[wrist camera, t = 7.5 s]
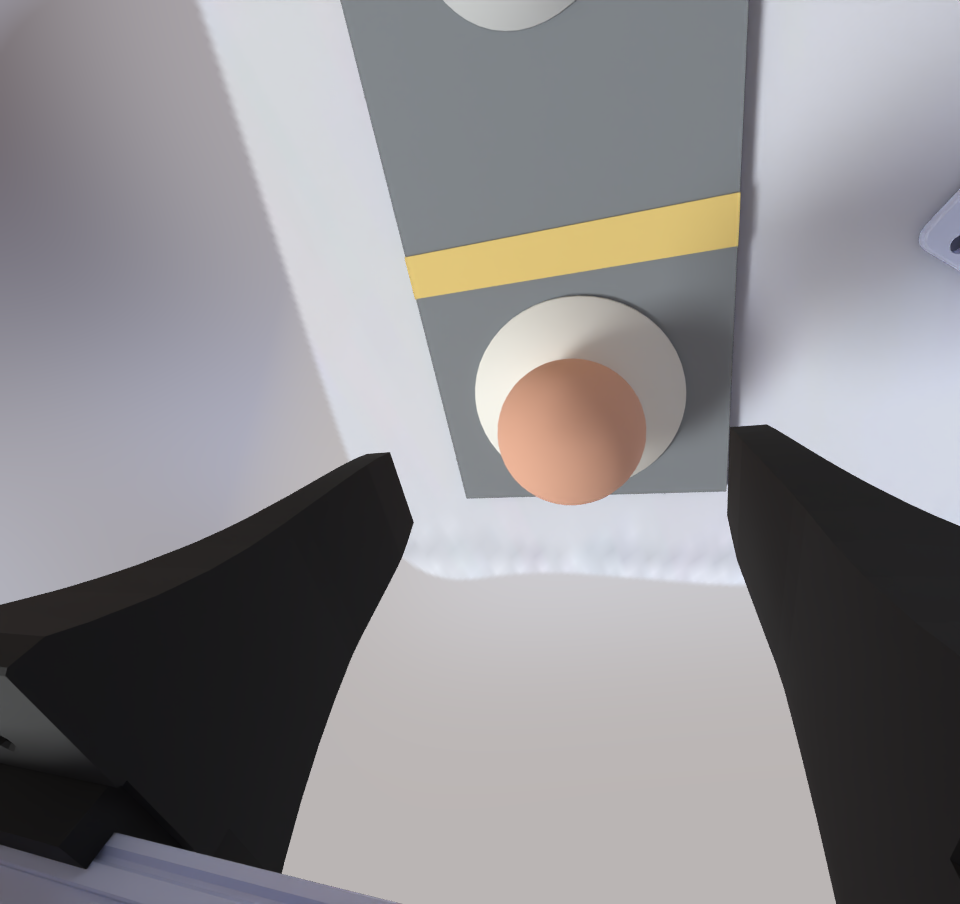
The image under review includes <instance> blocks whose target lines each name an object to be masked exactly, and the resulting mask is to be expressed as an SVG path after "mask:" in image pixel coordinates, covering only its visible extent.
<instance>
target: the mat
mask: <svg viewBox="0 0 960 904" xmlns="http://www.w3.org/2000/svg"><path fill="white" fill-rule="evenodd" d="M340 1H341V5H342V9H343V13H344V16H345V20H346V24H347V28H348V32H349V36H350V40H351V44H352V48H353V52H354V56H355V60H356V64H357V68H358V72H359V76H360V80H361V84H362V87H363V91H364V95H365V99H366V103H367V107H368V111H369V115H370V119H371V123H372V127H373V131H374V135H375V139H376V143H377V147H378V151H379V155H380V159H381V162H382V166H383V170H384V174H385V178H386V182H387V186H388V190H389V194H390V198H391V202H392V206H393V210H394V214H395V218H396V222H397V226H398V230H399V234H400V237H401V241H402V245H403V249H404V253H405V262H406V265H407V269H408V273H409V277H410V281H411V285H412V289H413V293H414V297H415V299H416V301H417V305H418V308H419V312H420V316H421V320H422V324H423V328H424V332H425V336H426V340H427V344H428V348H429V352H430V356H431V360H432V364H433V368H434V372H435V376H436V380H437V383H438V387H439V391H440V395H441V399H442V403H443V407H444V411H445V415H446V419H447V423H448V427H449V431H450V435H451V439H452V443H453V447H454V451H455V454H456V458H457V462H458V466H459V470H460V474H461V478H462V482H463V486H464V490H465V494H466V498H502V497H536V496H535V495H533V494H532V493H530V492H528V491H527V490H526V489H524V488H523V487H522V486H521V485H520V484H519V483H518V482H517V481H516V480H515V479H514V478H513V476H512V475H511V474H510V472H509V471H508V469H507V467H506V466H505V464H504V461H503V459H502V456H501V454H500V453H499V452H498V451H497V450H496V448H495V447H494V446H493V445H492V443H491V442H490V440H489V439H488V437H487V435H486V434H485V431H484V429H483V427H482V425H481V422H480V419H479V416H478V412H477V407H476V400H475V384H476V376H477V372H478V368H479V365H480V362H481V359H482V357H483V355H484V352H485V351H486V349H487V347H488V346H489V344H490V342H491V341H492V339H493V338H494V337H495V336H496V334H497V333H498V332H499V331H500V329H501V328H502V327H503V326H504V325H506V324H507V323H508V322H509V321H510V320H511V319H512V318H514V317H515V316H517V315H518V314H519V313H521V312H522V311H524V310H526V309H528V308H530V307H532V306H534V305H536V304H539V303H541V302H544V301H547V300H550V299H555V298H559V297H565V296H576V295H582V296H596V297H602V298H607V299H611V300H614V301H617V302H620V303H623V304H625V305H627V306H629V307H631V308H634V309H636V310H637V311H639V312H640V313H642V314H643V315H645V316H646V317H648V318H649V319H650V320H651V321H653V322H654V323H655V324H656V325H657V326H658V327H659V328H660V329H661V330H662V331H663V332H664V334H665V335H666V336H667V337H668V339H669V340H670V342H671V343H672V345H673V347H674V348H675V350H676V352H677V354H678V357H679V359H680V361H681V364H682V367H683V372H684V376H685V381H686V405H685V410H684V414H683V419H682V421H681V424H680V426H679V429H678V431H677V433H676V435H675V437H674V438H673V440H672V442H671V443H670V444H669V446H668V447H667V448H666V450H665V451H664V452H663V453H662V454H661V455H660V456H659V457H658V458H657V459H656V460H655V461H654V462H653V463H652V464H650V465H649V466H648V467H647V468H645V469H644V470H642V471H640V472H639V473H637V474H635V475H634V476H632V477H630V478H629V479H628V480H627V481H626V482H625V483H624V484H623V485H622V486H621V487H620V488H618V489H617V490H616V491H614V492H613V493H612V494H648V493H684V492H720V491H726V486H727V464H728V442H729V420H730V398H731V376H732V354H733V332H734V310H735V288H736V266H737V246H738V237H739V216H740V194H741V192H740V178H741V156H742V134H743V112H744V90H745V68H746V46H747V24H748V2H749V0H340ZM610 495H611V494H610Z"/></svg>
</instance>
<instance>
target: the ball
mask: <svg viewBox="0 0 960 904" xmlns="http://www.w3.org/2000/svg"><path fill="white" fill-rule="evenodd" d="M645 442H646V420H645V415H644V412H643V408H642V405H641V403H640V401H639V398H638V396H637V395H636V393H635V392H634V390H633V389H632V387H631V386H630V385H629V384H628V383H627V382H626V380H625V379H623V378H622V377H621V376H620V375H619V374H618V373H616V372H615V371H613V370H612V369H610V368H608V367H606V366H604V365H602V364H599V363H596V362H593V361H589V360H584V359H574V358H573V359H561V360H555V361H552V362H548V363H545V364H543V365H541V366H539V367H536V368H535V369H533V370H532V371H530V372H529V373H527V374H526V375H525V376H524V377H522V378H521V379H520V380H519V381H518V382H517V383H516V384H515V385H514V387H513V388H512V390H511V391H510V392H509V394H508V395H507V397H506V399H505V401H504V403H503V406H502V409H501V412H500V415H499V420H498V445H499V449H500V453H501V456H502V459H503V461H504V464H505V466H506V467H507V469H508V471H509V472H510V474H511V475H512V476H513V478H514V479H515V480H516V481H517V482H518V483H519V484H520V485H521V486H522V487H523V488H524V489H526V490H527V491H528V492H530V493H532V494H533V495H535V496H536V497H539V498H541V499H543V500H546V501H548V502H552V503H556V504H562V505H581V504H586V503H591V502H594V501H597V500H600V499H602V498H604V497H606V496H608V495H610V494H612V493H613V492H614V491H616V490H617V489H618V488H620V487H621V486H622V485H623V484H624V483H625V482H626V481H627V480H628V479H629V478H630V476H631V475H632V474H633V472H634V471H635V469H636V468H637V466H638V464H639V462H640V460H641V457H642V454H643V451H644V448H645Z"/></svg>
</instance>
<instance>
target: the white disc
mask: <svg viewBox="0 0 960 904" xmlns="http://www.w3.org/2000/svg"><path fill="white" fill-rule="evenodd" d="M573 358H574V359H584V360H589V361H593V362H596V363H599V364H602V365H604V366H606V367H608V368H610V369H612V370H613V371H615V372H616V373H618V374H619V375H620V376H621V377H622V378H623V379H625V380H626V382H627V383H628V384H629V385H630V386H631V387H632V389H633V390H634V392H635V393H636V395H637V396H638V398H639V401H640V403H641V405H642V408H643V412H644V415H645V420H646V442H645V448H644V451H643V454H642V457H641V460H640V462H639V464H638V466H637V468H636V469H635V471H634V472H633V474H632V475H631V476H630V477H632V476H634V475H635V474H637V473H639V472H640V471H642V470H644V469H645V468H647V467H648V466H649V465H650V464H652V463H653V462H654V461H655V460H656V459H657V458H658V457H659V456H660V455H661V454H662V453H663V452H664V451H665V450H666V448H667V447H668V446H669V444H670V443H671V442H672V440H673V438H674V437H675V435H676V433H677V431H678V429H679V426H680V424H681V421H682V419H683V414H684V410H685V405H686V381H685V376H684V372H683V367H682V364H681V361H680V359H679V357H678V354H677V352H676V350H675V348H674V347H673V345H672V343H671V342H670V340H669V339H668V337H667V336H666V335H665V334H664V332H663V331H662V330H661V329H660V328H659V327H658V326H657V325H656V324H655V323H654V322H653V321H651V320H650V319H649V318H648V317H646V316H645V315H643V314H642V313H640V312H639V311H637V310H636V309H634V308H631V307H629V306H627V305H625V304H623V303H620V302H617V301H614V300H611V299H607V298H602V297H596V296H582V295H576V296H565V297H559V298H555V299H550V300H547V301H544V302H541V303H539V304H536V305H534V306H532V307H530V308H528V309H526V310H524V311H522V312H521V313H519V314H518V315H517V316H515V317H514V318H512V319H511V320H510V321H509V322H508V323H507V324H506V325H504V326H503V327H502V328H501V329H500V331H499V332H498V333H497V334H496V336H495V337H494V338H493V339H492V341H491V342H490V344H489V346H488V347H487V349H486V351H485V352H484V355H483V357H482V359H481V362H480V365H479V368H478V372H477V376H476V384H475V400H476V407H477V412H478V416H479V419H480V422H481V425H482V427H483V429H484V431H485V434H486V435H487V437H488V439H489V440H490V442H491V443H492V445H493V446H494V447H495V448H496V450H497V451H498V452H499V453H500V449H499V445H498V420H499V415H500V412H501V409H502V406H503V403H504V401H505V399H506V397H507V395H508V394H509V392H510V391H511V390H512V388H513V387H514V385H515V384H516V383H517V382H518V381H519V380H520V379H521V378H522V377H524V376H525V375H526V374H527V373H529V372H530V371H532V370H533V369H535V368H536V367H539V366H541V365H543V364H545V363H548V362H552V361H555V360H561V359H573ZM500 454H501V453H500Z"/></svg>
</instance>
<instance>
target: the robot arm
mask: <svg viewBox="0 0 960 904" xmlns="http://www.w3.org/2000/svg"><path fill="white" fill-rule="evenodd" d="M959 235H960V189H959V190H958V191H957V192H956V193H955V194H954V195H953V196H952V198H951V199H950V200H949V201H948V202H947V203H946V204H945V205H944V206H943V207H942V208H941V209H940V210H939V211H938V212H937V213H936V214H935V215H934V217H933V218H932V219H931V220H930V221H929V222H928V223H927V224H926V225H925V226H924V228H923V229H922V231H921V232H920V236H919V244H920V246H921V247H922V248H923V249H924V250H925V251H926V252H928V253H930V254H931V255H933V256H935V257H937V258H938V259H940V260H942V261H943V262H945V263H947V264H948V265H950V266H952V267H953V268H955V269H957V270H958V271H960V248H959V249H958V250H956V251H951V250H950V244H951V243H952V241H953V240H954V239H955V238H956V237H958V236H959ZM727 516H728V521H729V526H730V530H731V535H732V540H733V544H734V549H735V553H736V557H737V561H738V564H739V566H740V569H741V572H742V575H743V577H744V580H745V583H746V585H747V588H748V591H749V593H750V596H751V599H752V601H753V604H754V606H755V609H756V612H757V615H758V617H759V620H760V623H761V625H762V628H763V631H764V633H765V636H766V639H767V641H768V644H769V647H770V649H771V652H772V655H773V657H774V660H775V663H776V665H777V668H778V671H779V675H780V677H781V680H782V683H783V687H784V689H785V694H786V697H787V701H788V705H789V709H790V713H791V717H792V720H793V724H794V728H795V732H796V736H797V740H798V744H799V748H800V752H801V756H802V760H803V764H804V768H805V772H806V776H807V780H808V784H809V788H810V793H811V797H812V801H813V805H814V809H815V813H816V817H817V821H818V826H819V830H820V834H821V839H822V843H823V848H824V852H825V856H826V861H827V865H828V870H829V874H830V878H831V883H832V887H833V891H834V896H835V900H836V904H960V526H958V525H956V524H953V523H951V522H949V521H946V520H944V519H941V518H939V517H937V516H934V515H932V514H930V513H928V512H925V511H923V510H921V509H919V508H917V507H915V506H912V505H910V504H908V503H906V502H904V501H902V500H900V499H898V498H896V497H894V496H892V495H890V494H888V493H886V492H884V491H882V490H880V489H878V488H876V487H874V486H872V485H870V484H868V483H867V482H865V481H863V480H861V479H859V478H857V477H856V476H854V475H852V474H850V473H848V472H846V471H845V470H843V469H841V468H839V467H838V466H836V465H834V464H833V463H831V462H829V461H827V460H826V459H824V458H822V457H821V456H819V455H817V454H816V453H814V452H812V451H811V450H809V449H807V448H806V447H804V446H802V445H801V444H799V443H798V442H796V441H794V440H793V439H791V438H789V437H788V436H786V435H784V434H783V433H781V432H779V431H778V430H776V429H774V428H772V427H770V426H768V425H754V426H741V427H730V439H729V474H728V508H727ZM413 523H414V522H413V519H412V516H411V513H410V510H409V507H408V504H407V501H406V499H405V496H404V493H403V490H402V487H401V484H400V481H399V478H398V475H397V472H396V469H395V466H394V463H393V460H392V457H391V454H390V452H387V453H374V454H366V455H363V456H361V457H358V458H356V459H354V460H352V461H350V462H348V463H346V464H344V465H342V466H340V467H338V468H336V469H335V470H333V471H331V472H330V473H328V474H326V475H324V476H322V477H320V478H319V479H317V480H315V481H313V482H312V483H310V484H308V485H307V486H305V487H303V488H301V489H299V490H298V491H296V492H294V493H293V494H291V495H289V496H287V497H286V498H284V499H282V500H280V501H278V502H276V503H274V504H272V505H271V506H269V507H267V508H265V509H263V510H261V511H259V512H258V513H256V514H254V515H252V516H250V517H248V518H246V519H244V520H242V521H240V522H238V523H236V524H234V525H232V526H230V527H228V528H226V529H224V530H222V531H220V532H217V533H215V534H213V535H211V536H209V537H206V538H204V539H202V540H200V541H197V542H195V543H193V544H190V545H188V546H185V547H183V548H180V549H178V550H175V551H172V552H170V553H167V554H164V555H162V556H160V557H157V558H154V559H152V560H149V561H147V562H144V563H141V564H139V565H136V566H133V567H130V568H127V569H124V570H121V571H118V572H115V573H112V574H109V575H106V576H103V577H100V578H97V579H93V580H90V581H87V582H83V583H80V584H77V585H74V586H70V587H67V588H63V589H60V590H56V591H53V592H49V593H45V594H41V595H37V596H33V597H30V598H25V599H22V600H18V601H14V602H10V603H6V604H2V605H0V904H400V903H397V902H392V901H388V900H384V899H380V898H376V897H372V896H368V895H364V894H360V893H356V892H352V891H348V890H344V889H340V888H336V887H332V886H328V885H324V884H320V883H316V882H312V881H308V880H304V879H300V878H296V877H292V876H288V875H284V874H282V870H283V866H284V862H285V858H286V854H287V851H288V847H289V843H290V840H291V836H292V832H293V829H294V825H295V821H296V818H297V814H298V811H299V807H300V803H301V800H302V796H303V793H304V790H305V787H306V784H307V781H308V778H309V774H310V771H311V768H312V765H313V762H314V758H315V755H316V752H317V749H318V746H319V743H320V740H321V737H322V734H323V732H324V729H325V726H326V723H327V720H328V717H329V715H330V712H331V709H332V706H333V703H334V701H335V698H336V695H337V693H338V690H339V688H340V685H341V683H342V680H343V677H344V675H345V672H346V670H347V667H348V664H349V662H350V660H351V657H352V655H353V653H354V651H355V649H356V646H357V644H358V642H359V640H360V638H361V636H362V634H363V632H364V630H365V629H366V627H367V625H368V623H369V621H370V619H371V617H372V615H373V613H374V611H375V609H376V607H377V606H378V604H379V602H380V600H381V598H382V596H383V594H384V592H385V590H386V588H387V586H388V584H389V582H390V581H391V578H392V577H393V575H394V573H395V571H396V568H397V567H398V565H399V562H400V560H401V558H402V556H403V553H404V550H405V547H406V545H407V542H408V539H409V535H410V532H411V529H412V526H413Z"/></svg>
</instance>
